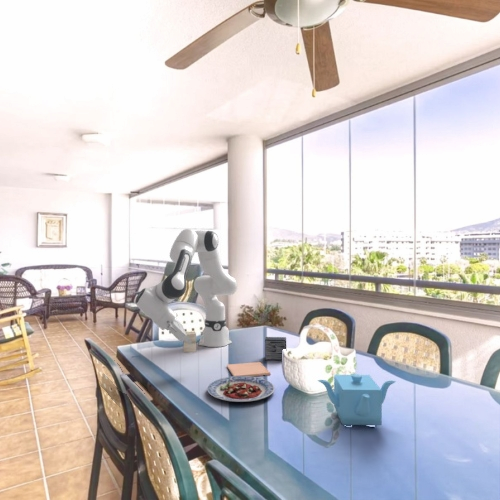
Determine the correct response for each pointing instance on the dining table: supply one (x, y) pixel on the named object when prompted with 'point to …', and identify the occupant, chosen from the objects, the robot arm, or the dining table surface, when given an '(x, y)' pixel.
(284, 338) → the small box
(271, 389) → the ceramic plate
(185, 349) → the ash block
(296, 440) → the dining table surface
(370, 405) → the teakettle
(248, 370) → the terracotta tile
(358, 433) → the dining table surface
